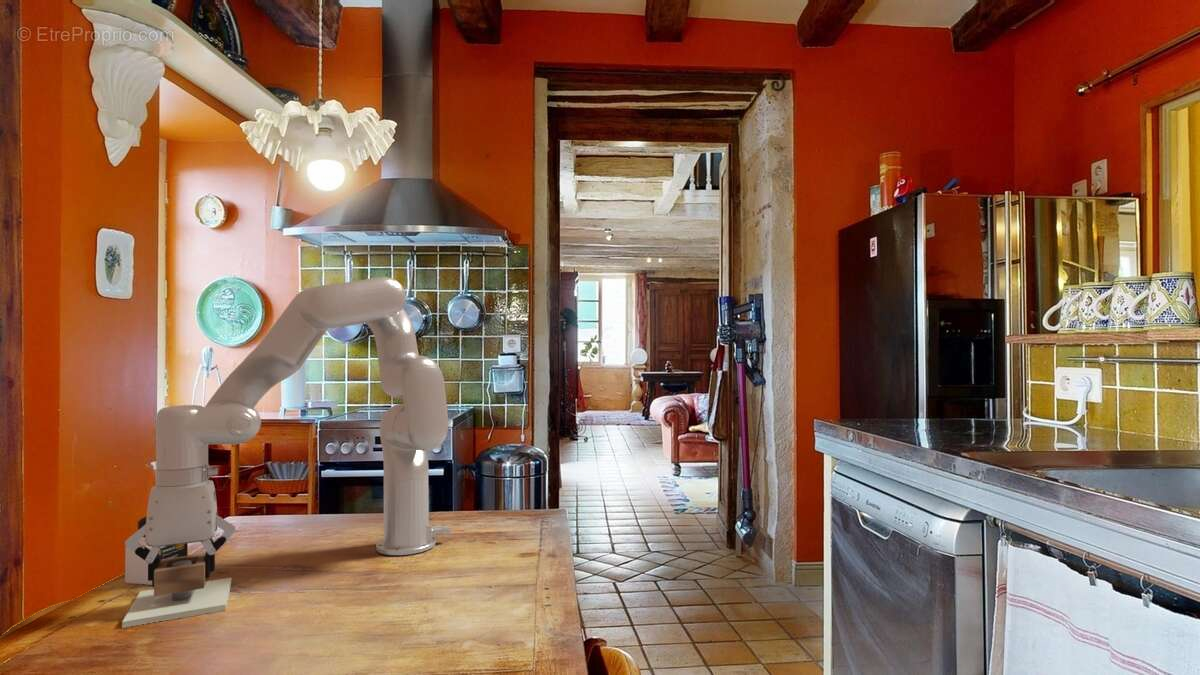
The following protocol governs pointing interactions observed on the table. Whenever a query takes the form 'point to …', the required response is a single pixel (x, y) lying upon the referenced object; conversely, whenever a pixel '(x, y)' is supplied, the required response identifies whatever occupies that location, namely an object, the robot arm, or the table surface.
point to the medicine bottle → (137, 566)
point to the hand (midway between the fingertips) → (182, 579)
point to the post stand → (178, 602)
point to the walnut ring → (179, 575)
